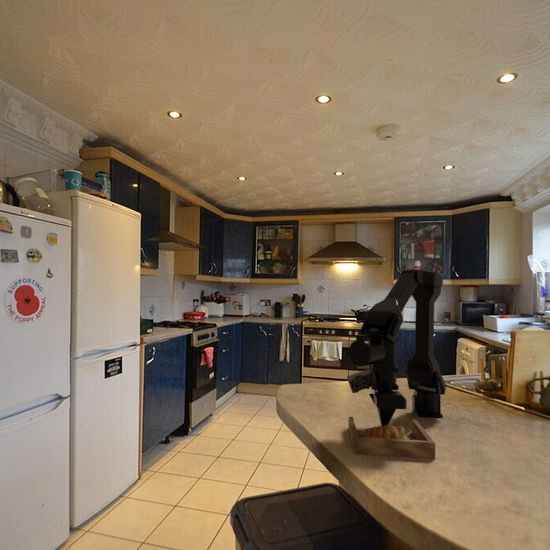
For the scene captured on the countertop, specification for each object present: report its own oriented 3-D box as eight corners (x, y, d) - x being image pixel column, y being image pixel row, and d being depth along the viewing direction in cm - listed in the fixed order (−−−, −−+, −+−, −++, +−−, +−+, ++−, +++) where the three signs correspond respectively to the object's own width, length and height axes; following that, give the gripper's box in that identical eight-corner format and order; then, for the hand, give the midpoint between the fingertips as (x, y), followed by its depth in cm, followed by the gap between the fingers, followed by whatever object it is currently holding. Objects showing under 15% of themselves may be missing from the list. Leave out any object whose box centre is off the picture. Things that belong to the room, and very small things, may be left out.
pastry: (361, 446, 78) (361, 428, 78) (362, 434, 84) (362, 418, 85) (407, 451, 75) (407, 432, 76) (404, 439, 82) (404, 422, 82)
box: (416, 432, 85) (416, 420, 85) (435, 458, 72) (435, 443, 72) (348, 429, 87) (348, 416, 87) (354, 453, 74) (354, 438, 74)
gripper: (345, 353, 95) (346, 413, 94) (353, 367, 77) (353, 442, 76) (388, 355, 94) (389, 415, 93) (406, 369, 75) (407, 445, 74)
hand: (384, 428), depth 84 cm, fingers closed
